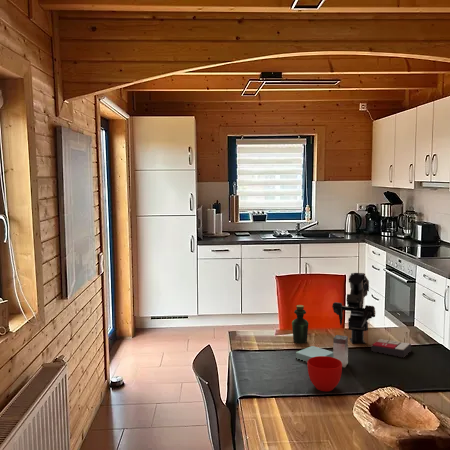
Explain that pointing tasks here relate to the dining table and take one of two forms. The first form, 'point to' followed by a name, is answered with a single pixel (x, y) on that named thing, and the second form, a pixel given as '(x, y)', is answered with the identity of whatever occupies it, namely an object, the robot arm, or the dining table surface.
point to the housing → (341, 349)
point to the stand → (312, 353)
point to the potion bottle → (300, 326)
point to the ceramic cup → (324, 372)
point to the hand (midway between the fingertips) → (350, 325)
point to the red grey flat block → (391, 347)
